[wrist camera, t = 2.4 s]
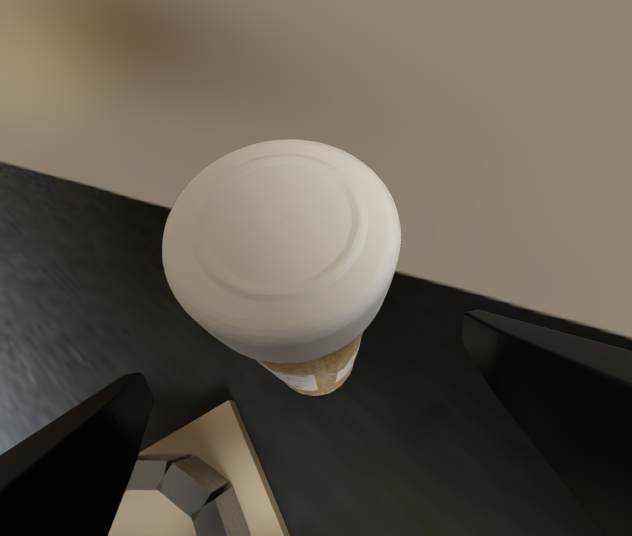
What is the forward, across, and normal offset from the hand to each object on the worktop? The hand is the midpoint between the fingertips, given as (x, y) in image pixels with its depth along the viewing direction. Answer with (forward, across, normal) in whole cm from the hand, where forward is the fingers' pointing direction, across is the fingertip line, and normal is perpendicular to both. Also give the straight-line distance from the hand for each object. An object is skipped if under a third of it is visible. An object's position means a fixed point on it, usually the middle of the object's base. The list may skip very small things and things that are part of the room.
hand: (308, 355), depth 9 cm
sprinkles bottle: (+8, 0, +6) cm, 10 cm away
